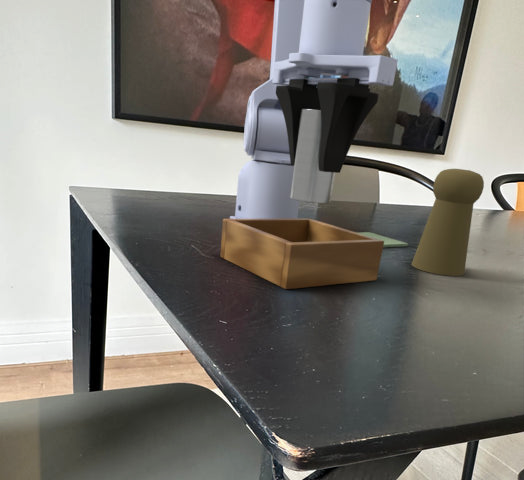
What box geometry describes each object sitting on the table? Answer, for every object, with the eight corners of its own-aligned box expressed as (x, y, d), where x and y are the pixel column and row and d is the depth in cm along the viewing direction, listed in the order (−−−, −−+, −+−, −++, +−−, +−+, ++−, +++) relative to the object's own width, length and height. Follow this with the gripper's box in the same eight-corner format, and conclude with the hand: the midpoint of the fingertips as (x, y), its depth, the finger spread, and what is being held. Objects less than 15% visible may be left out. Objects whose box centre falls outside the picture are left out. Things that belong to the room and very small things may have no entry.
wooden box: (219, 257, 52) (222, 218, 51) (305, 252, 59) (309, 218, 57) (285, 289, 44) (291, 244, 42) (376, 280, 50) (384, 240, 49)
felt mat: (332, 235, 71) (332, 233, 71) (369, 234, 75) (369, 232, 75) (370, 248, 65) (370, 245, 65) (407, 246, 69) (408, 243, 69)
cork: (468, 278, 55) (497, 174, 51) (413, 270, 56) (437, 167, 52) (460, 266, 61) (485, 171, 56) (409, 259, 61) (430, 165, 57)
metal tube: (282, 196, 50) (292, 108, 47) (312, 197, 52) (324, 113, 49) (307, 203, 47) (320, 109, 44) (338, 203, 49) (353, 114, 46)
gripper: (252, 1, 46) (240, 158, 51) (364, -24, 35) (333, 177, 41) (311, 18, 50) (293, 162, 55) (427, 0, 39) (391, 180, 45)
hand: (314, 169), depth 48 cm, fingers closed on metal tube, 4 cm apart
